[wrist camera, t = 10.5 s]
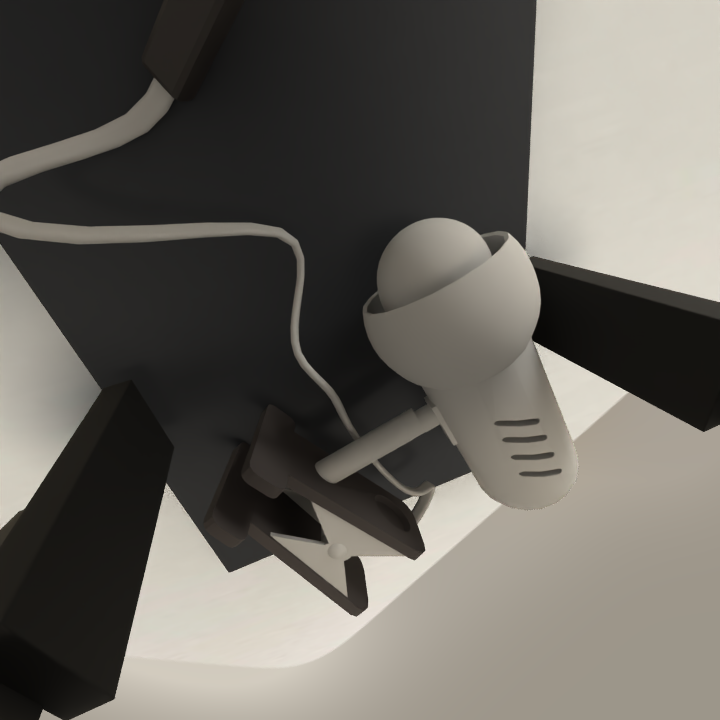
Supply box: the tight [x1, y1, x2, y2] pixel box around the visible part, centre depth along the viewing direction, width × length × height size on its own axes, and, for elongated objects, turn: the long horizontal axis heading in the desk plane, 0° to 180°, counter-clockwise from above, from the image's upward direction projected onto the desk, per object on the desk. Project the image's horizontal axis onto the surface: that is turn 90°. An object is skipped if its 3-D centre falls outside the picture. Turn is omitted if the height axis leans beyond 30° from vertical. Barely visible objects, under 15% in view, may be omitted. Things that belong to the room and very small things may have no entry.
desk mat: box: [0, 0, 536, 572], centre depth 13 cm, size 20×16×1 cm
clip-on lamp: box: [0, 0, 578, 617], centre depth 10 cm, size 12×6×18 cm
